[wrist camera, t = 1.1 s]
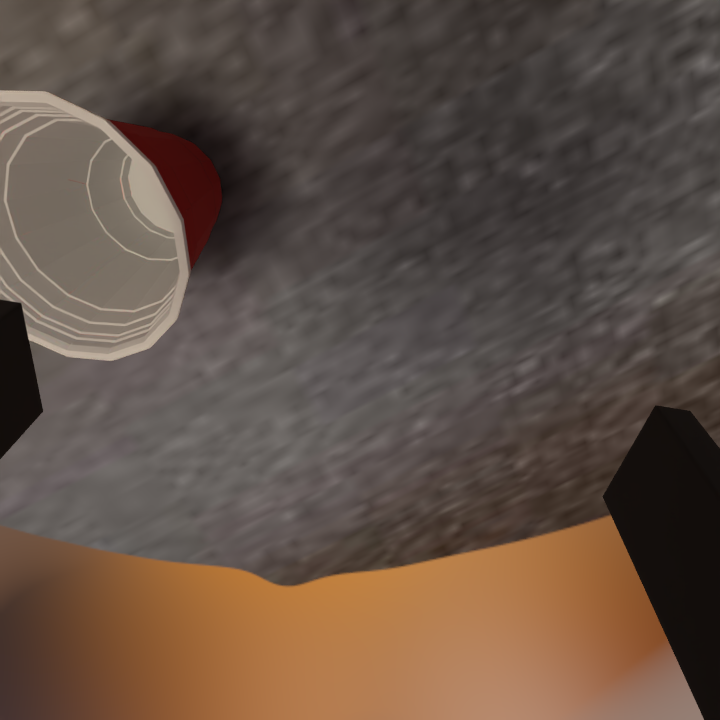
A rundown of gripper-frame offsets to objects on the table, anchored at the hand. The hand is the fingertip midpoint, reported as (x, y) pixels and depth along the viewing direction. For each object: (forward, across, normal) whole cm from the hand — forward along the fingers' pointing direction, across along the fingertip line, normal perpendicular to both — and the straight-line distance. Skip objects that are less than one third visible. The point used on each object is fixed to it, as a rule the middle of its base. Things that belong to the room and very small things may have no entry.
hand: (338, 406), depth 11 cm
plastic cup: (+22, -11, -3) cm, 25 cm away
